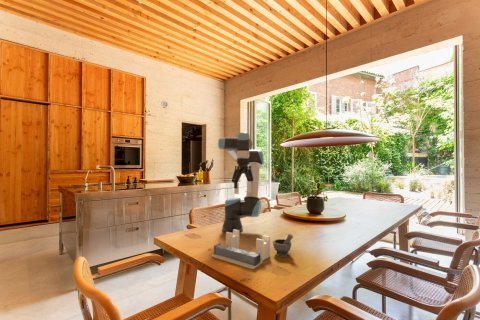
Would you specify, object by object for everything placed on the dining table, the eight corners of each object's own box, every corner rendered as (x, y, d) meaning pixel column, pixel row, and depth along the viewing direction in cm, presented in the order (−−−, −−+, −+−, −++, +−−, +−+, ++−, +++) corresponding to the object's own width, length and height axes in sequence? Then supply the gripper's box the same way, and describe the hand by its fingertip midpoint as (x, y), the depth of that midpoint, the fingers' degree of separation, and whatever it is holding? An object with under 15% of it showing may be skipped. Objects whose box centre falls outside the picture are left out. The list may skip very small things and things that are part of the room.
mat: (211, 256, 129) (211, 255, 129) (222, 251, 136) (222, 250, 136) (252, 269, 114) (252, 267, 114) (262, 262, 121) (262, 261, 121)
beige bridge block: (225, 250, 137) (226, 232, 137) (233, 246, 144) (234, 229, 144) (231, 252, 135) (231, 233, 135) (239, 248, 141) (239, 230, 141)
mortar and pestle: (269, 254, 132) (270, 232, 132) (278, 249, 139) (278, 229, 139) (288, 260, 125) (288, 236, 125) (296, 254, 132) (296, 233, 132)
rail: (213, 253, 130) (214, 245, 130) (219, 251, 134) (219, 243, 134) (255, 266, 116) (255, 256, 116) (260, 262, 120) (260, 253, 120)
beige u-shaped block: (256, 259, 126) (256, 238, 126) (263, 254, 132) (263, 235, 132) (262, 260, 124) (262, 240, 124) (269, 256, 130) (269, 236, 130)
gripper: (236, 157, 136) (235, 195, 135) (258, 158, 156) (258, 191, 156) (225, 157, 140) (225, 194, 140) (249, 158, 160) (248, 190, 160)
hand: (242, 192), depth 148 cm, fingers open, 13 cm apart
